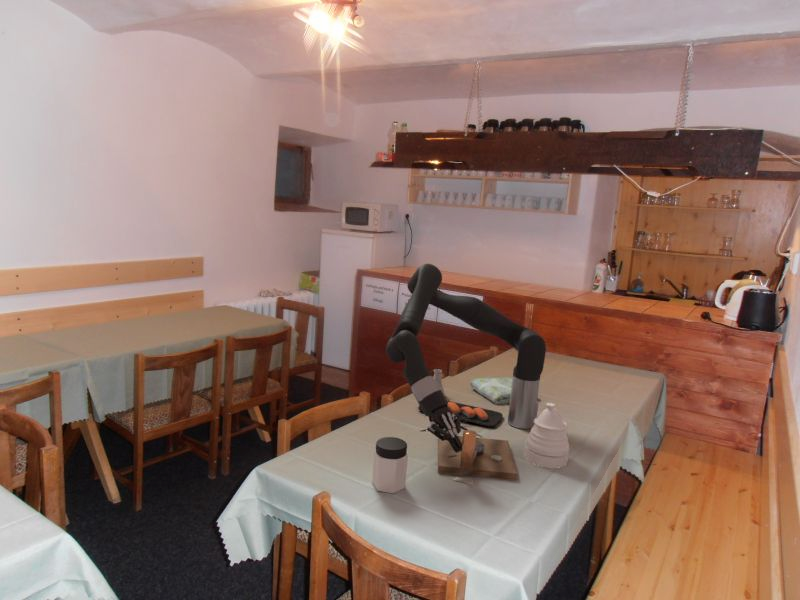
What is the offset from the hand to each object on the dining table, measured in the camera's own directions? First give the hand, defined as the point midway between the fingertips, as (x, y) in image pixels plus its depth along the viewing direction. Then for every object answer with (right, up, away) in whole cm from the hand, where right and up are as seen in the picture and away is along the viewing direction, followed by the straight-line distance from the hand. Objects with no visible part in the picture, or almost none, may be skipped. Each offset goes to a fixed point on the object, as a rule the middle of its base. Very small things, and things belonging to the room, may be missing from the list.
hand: (460, 450), depth 158 cm
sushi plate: (+2, -2, +42) cm, 42 cm away
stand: (+6, -7, +12) cm, 15 cm away
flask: (-3, +4, +67) cm, 67 cm away
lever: (+4, -5, +7) cm, 9 cm away
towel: (+25, +3, +73) cm, 78 cm away
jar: (-20, -8, -5) cm, 22 cm away
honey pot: (+28, -7, +18) cm, 34 cm away
